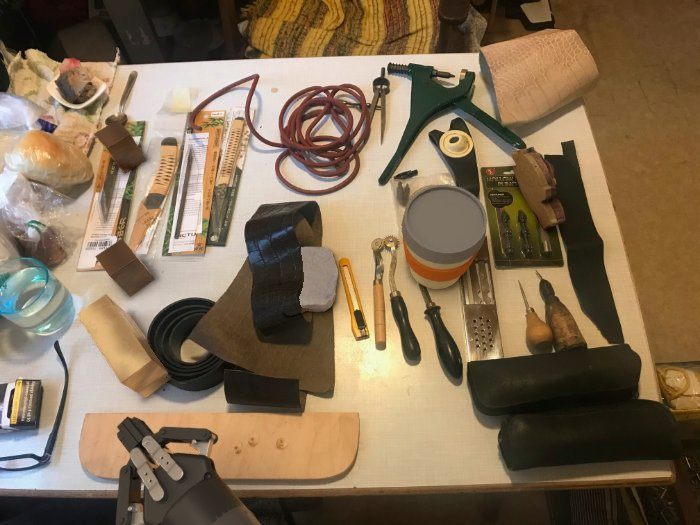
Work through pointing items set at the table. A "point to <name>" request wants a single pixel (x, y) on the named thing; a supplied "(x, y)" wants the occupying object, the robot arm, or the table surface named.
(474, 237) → the reusable coffee cup
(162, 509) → the robot arm
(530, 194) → the wooden carving
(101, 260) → the pillar near
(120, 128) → the pillar far
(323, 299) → the stone block
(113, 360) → the birch block
